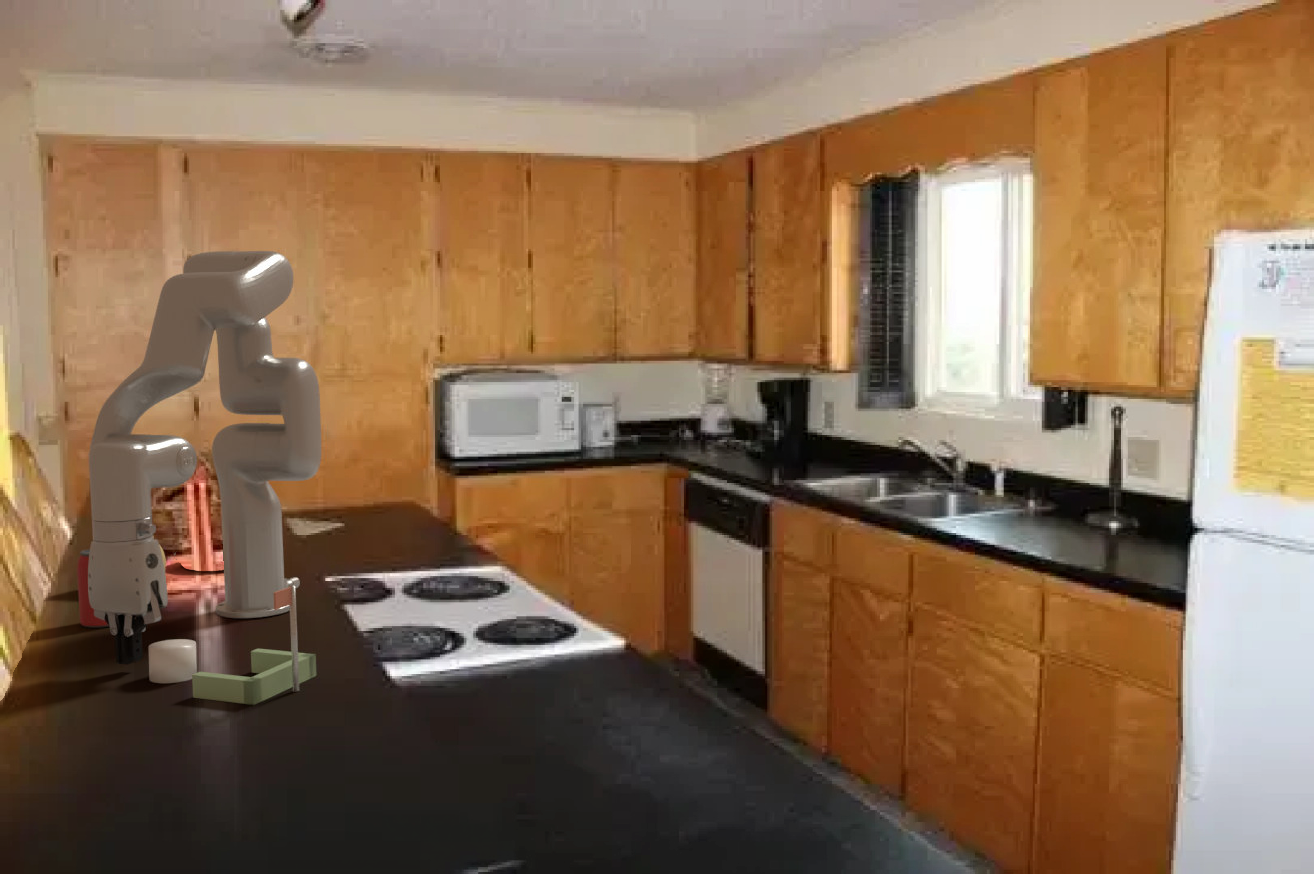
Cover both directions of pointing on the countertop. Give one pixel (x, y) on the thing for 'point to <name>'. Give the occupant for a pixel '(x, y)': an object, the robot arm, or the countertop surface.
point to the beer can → (86, 594)
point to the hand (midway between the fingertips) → (129, 661)
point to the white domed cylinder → (172, 661)
